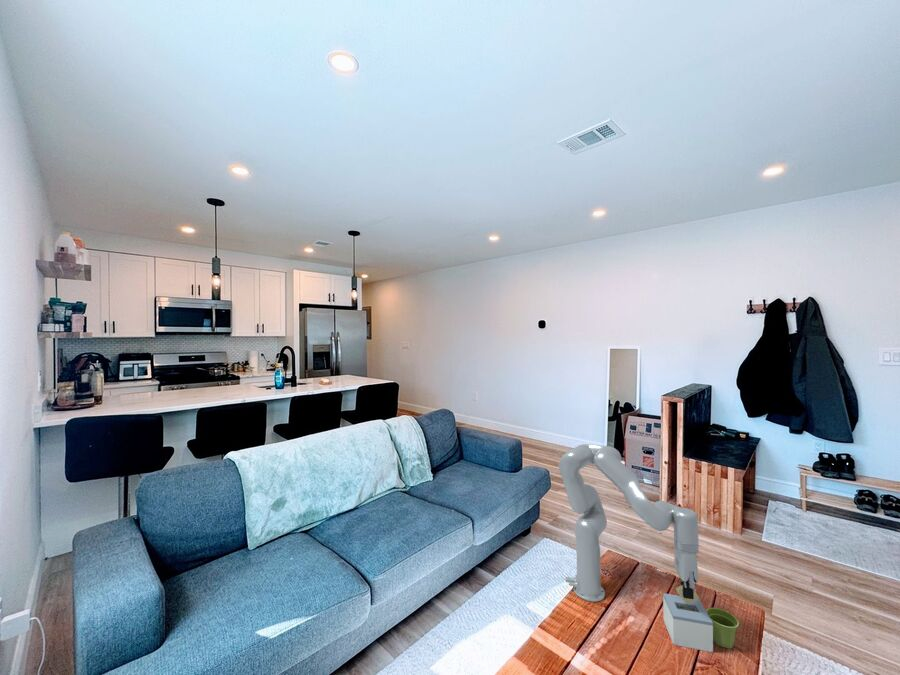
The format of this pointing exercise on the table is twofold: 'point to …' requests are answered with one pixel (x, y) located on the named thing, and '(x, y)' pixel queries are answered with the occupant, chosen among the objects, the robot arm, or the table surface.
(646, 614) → the table surface
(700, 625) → the grey slotted box
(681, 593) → the block
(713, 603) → the table surface
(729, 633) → the plant pot
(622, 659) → the table surface
